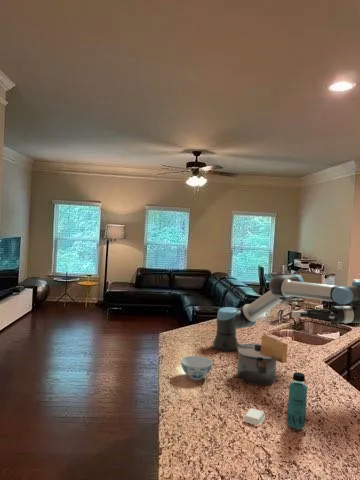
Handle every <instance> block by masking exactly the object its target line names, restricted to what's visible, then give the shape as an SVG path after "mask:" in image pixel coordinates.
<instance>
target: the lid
mask: <svg viewBox="0 0 360 480" xmlns="http://www.w3.org/2000/svg"><path fill="white" fill-rule="evenodd" d="M237 353H238V354H239V353H240V354H242V355H244V356H247V357H252V358H258V359H271V358H273V359H275V360H277V361H276V362H279V363H280V364H286V363H287V360H288V359H287V358H288V343H285V342H283V341H280V340H278V339H276V338H273V337H271V336H269V335H266V334H265V335H264V334H263V335H261V342H260V343H244V344H243V343H242V344H240V345H238V350H237Z"/></svg>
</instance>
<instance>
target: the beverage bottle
mask: <svg viewBox="0 0 360 480" xmlns="http://www.w3.org/2000/svg"><path fill="white" fill-rule="evenodd" d="M292 380H293V381H291V382H290V383H289V385H288V388H289V389H288V400H287V407H286V408H287V411H286V424H287V425H288V426H289V428H290V427H291V428H294V429H297V430H300V429H304V428H305V426H306V418H307V417H306V416H307V414H306V413H307V412H306V411H307V398H308V397H307V395H308V386H307V385H306V384H305V383H304V382H305V381H306V377H305V374H304V373H303V372H293V375H292Z"/></svg>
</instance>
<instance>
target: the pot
mask: <svg viewBox="0 0 360 480" xmlns="http://www.w3.org/2000/svg"><path fill="white" fill-rule="evenodd" d="M277 362H278V361H277V360H275V359H273V358H271V359H258V358H252V357H247V356H244V355H242V354H240V353H239V352H238V360H237V378H238V379H239V380H240V379H241V380H240V381H243V382H244V383H247V384H251V385H257V386H266V385H267V386H269V385H272V384H274V383H275V382H276V376H277Z"/></svg>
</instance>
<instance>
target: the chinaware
mask: <svg viewBox="0 0 360 480" xmlns="http://www.w3.org/2000/svg"><path fill="white" fill-rule="evenodd" d="M180 365H181V367H182V371H183V372H184V373H185V374H186V375H187V376H188V378H189V379H190V380H192V381H200V380H203V379H204V377H205V376H207V375H208V374H209V373H210V371H211V369H212V367H213V360H212V359H210V358H208V357H205V356H199V355H191V356H190V355H188V356H184V357H182V358H181V359H180Z"/></svg>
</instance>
